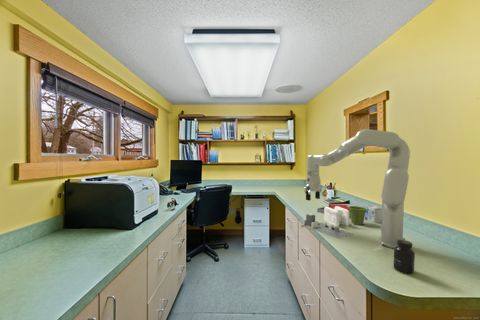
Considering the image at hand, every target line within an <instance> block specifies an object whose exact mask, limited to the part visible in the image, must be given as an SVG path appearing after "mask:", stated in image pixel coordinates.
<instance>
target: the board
mask: <svg viewBox="0 0 480 320" xmlns="http://www.w3.org/2000/svg"><path fill="white" fill-rule="evenodd" d="M300 227H301V228H304V227H305V228H307V229H311V230H313V231H316V232H319V233H322V234H324V235H328V236H331V237H333V238H336V239H338V240H341V239H343V238H346V237H349V236H352V235H353V233H351V232H347V231H344V230H341V229H340V226H339V227H338V226H334V225H333V224H328V222H326V221H319V220H317V221H316V220H315V222H312V225H311V227H310V226H307V225H306V218H305V219H302V225H300Z"/></svg>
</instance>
